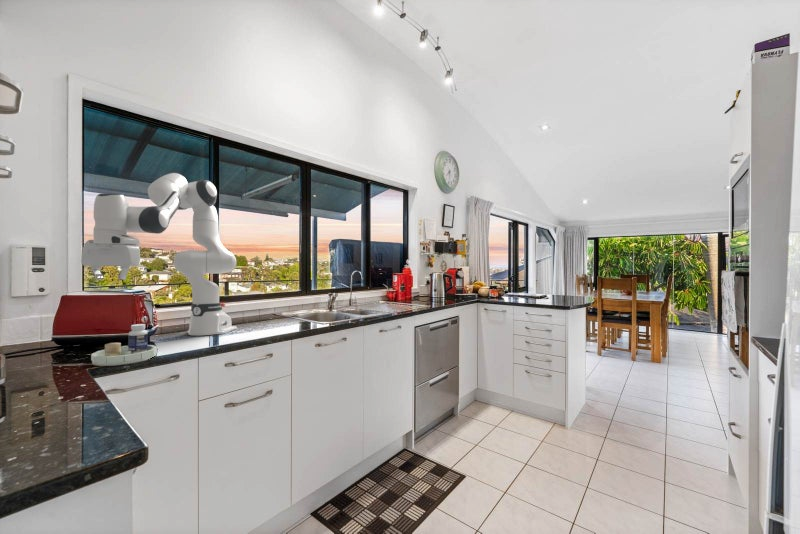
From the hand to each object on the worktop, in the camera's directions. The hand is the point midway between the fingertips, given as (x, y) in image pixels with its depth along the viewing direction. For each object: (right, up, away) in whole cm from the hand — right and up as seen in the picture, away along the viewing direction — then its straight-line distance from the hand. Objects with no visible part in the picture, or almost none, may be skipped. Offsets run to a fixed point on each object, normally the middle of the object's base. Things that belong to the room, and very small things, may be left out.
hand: (110, 279), depth 119 cm
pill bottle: (+8, -26, +2) cm, 27 cm away
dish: (+8, -27, -3) cm, 28 cm away
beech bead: (+7, -26, -7) cm, 28 cm away
